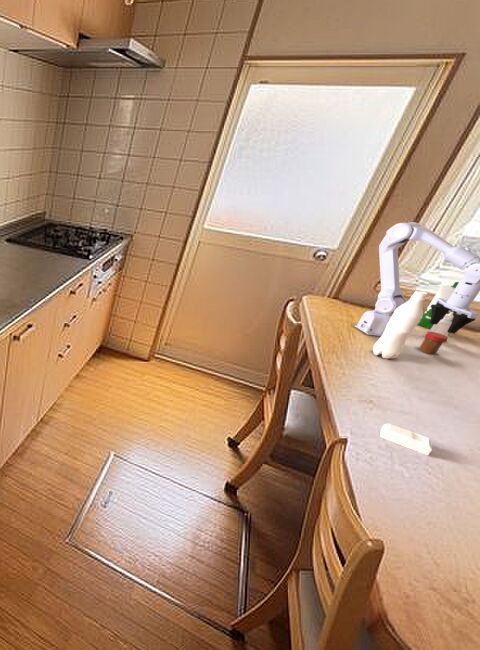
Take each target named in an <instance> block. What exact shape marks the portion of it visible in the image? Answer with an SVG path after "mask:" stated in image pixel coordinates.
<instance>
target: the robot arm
mask: <svg viewBox="0 0 480 650" xmlns="http://www.w3.org/2000/svg"><path fill="white" fill-rule="evenodd" d="M409 241H419V242H423V243H424V244H427V246H430V247H432V248H434V249H435V250H437V251H439V252H441V253H442V254H443V255H444V257H443V258H444V260H445V261H447V262H448V263H450V264H452V265H453V266H455V267H456V268H458V269H459V270H461V271H463V272H464V275H463V277H462V278H461V279H460V280H459V281H458V282H459V283H458V285H457V286H456V288H455V290H454V291H453V293H452V294H451V296H450V297H449V299H448V300H445V299H442V298H436V300H435V301H434V303H436V304H435V305H434V304H432V305H431V309H432V314H431V319H430V324H436V325H437V324H438V323H439V321H440V320H441V319H442V317H443V316H444V315H445V314H446V313H447V312H448V311H449V310H454V311H456V312H458V314H454V317H453V321H452V324H451V325H450V327H449V329H448V331H447V332H448V333H449V334H456V333H457V332H458V331H459V330H461V329H462V328H464V327H465V326H467V325H468V324H470V323H472V322H475V321H476V319H477V317H478V316H479V313H478V312H476V311H474V310H473V309H471V305H472V303H473V302H474V300H475V299H476V297H477V296H478V295H479V293H480V256H479V255H477V254H476V253H474V252H473V251H471V250H472V248H471V247H469V246H466V247H465V246H462V245H459V246H454V244H452V243H450V242H448V241H447V240H445V239H444V238H442V237H441V236H439V235H438V234H436V233H435V232H434V231H433V230H431V229H430V228H428V227H426V226H424V225H421V224H420V223H418V222H416V221H415V222H413V221H411V222H399V223H395V224H394V225H393V226H391V227H390V228H388V230H386V233H385V235H384V237H383V239H382V240H381V241H380V243H379V245H378V255H379V256H378V257H379V275H380V291H379V293H378V295H377V301H376V302H375V303H374V307H375V308H374V309H373V310H367V311H365V312H364V313H363V314H362V315H361V317H360V319H359V320H358V323H357V324H356V325H354V327H355V328H356V329H357V330H360V332H362V333H364V334H366V335H369V336H377V337H381V336H382V334H383V333H384V331H385V328H386V326H387V323H388V322H389V320H390V318H391V317H392V315H393V313H394V311H395V310H396V309H397V308H398V307H399V306H401V305H402V304H404V303H406V302H407V300H406V298H405V297H404V292H403V291H402V289H401V287H400V267H399V266H400V265H399V249H400V248H401V247H402V246H403V245H405V244H406V243H407V242H409Z"/></svg>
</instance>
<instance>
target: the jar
mask: <svg viewBox="0 0 480 650" xmlns="http://www.w3.org/2000/svg"><path fill="white" fill-rule="evenodd" d="M443 344H444V342H438V341H434V340H431V339H429V338H427V337H425V338H424V339H423V340H422V343H421V344H420V345H419V347H418V350H419V351H420V352H422V353H425V354H428V355H437V353H438V351H439V350H440V349H441V347H442V345H443Z"/></svg>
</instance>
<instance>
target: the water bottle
mask: <svg viewBox="0 0 480 650" xmlns="http://www.w3.org/2000/svg"><path fill="white" fill-rule="evenodd" d="M427 295H428V292H426V291H423V290H415V291H414V292H413V294H412V295H411V296H410V298H409V299H408V300H406V303H404V304H402V305H401V306H399V307H398V308H397V309H396V310H395V311H394V313H393V315H392V317H391V318H390V320H389V322H388V323H387V326H386V328H385V331H384V333H383V334H382V336H379V339H378V340H377V341H376V342H375V343H374V344H373V348H372V349H373V350H372V351H373V355H375V356H379V355H381V358H382V359H386V360H389V359H391V360H393V359H396V358H397V357H398V356H399V355H400V353H402V349H403V348H404V344H405V342H406V341H407V339H408V338H409V337H410V335H411V334H412V333H413V332H414V330H415V329H416V327H417V326H418V324H419V322H420V320H421V319H422V316H423V315H424V309H423V302H424V301H425V299H426V297H427Z"/></svg>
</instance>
